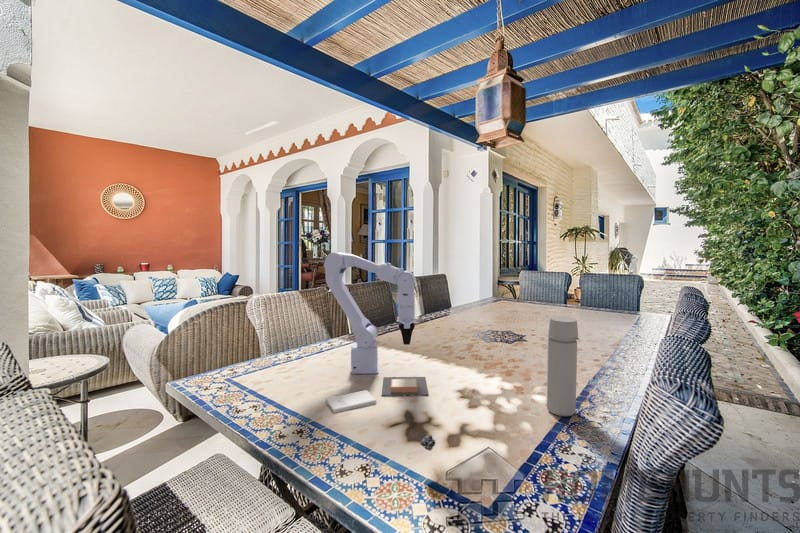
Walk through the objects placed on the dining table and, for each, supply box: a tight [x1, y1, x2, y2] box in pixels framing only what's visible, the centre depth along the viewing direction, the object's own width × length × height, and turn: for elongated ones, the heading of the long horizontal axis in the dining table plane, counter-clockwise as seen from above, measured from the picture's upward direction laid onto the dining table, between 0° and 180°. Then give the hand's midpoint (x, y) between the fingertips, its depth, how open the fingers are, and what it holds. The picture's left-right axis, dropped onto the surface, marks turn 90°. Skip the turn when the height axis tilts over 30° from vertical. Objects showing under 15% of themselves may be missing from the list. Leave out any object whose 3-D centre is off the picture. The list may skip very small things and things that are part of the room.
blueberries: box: [420, 434, 441, 451], centre depth 82 cm, size 7×8×2 cm
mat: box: [381, 376, 429, 397], centre depth 114 cm, size 14×14×1 cm
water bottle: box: [545, 316, 580, 417], centre depth 96 cm, size 9×8×25 cm
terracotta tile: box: [391, 379, 417, 393], centre depth 112 cm, size 8×2×6 cm
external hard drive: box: [325, 389, 377, 414], centre depth 103 cm, size 2×8×12 cm
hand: (406, 344), depth 126 cm, fingers closed
